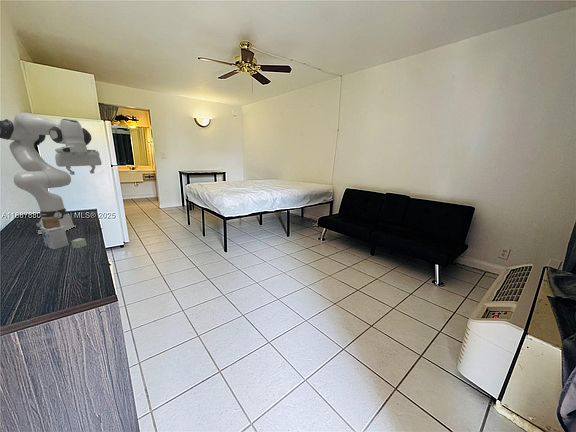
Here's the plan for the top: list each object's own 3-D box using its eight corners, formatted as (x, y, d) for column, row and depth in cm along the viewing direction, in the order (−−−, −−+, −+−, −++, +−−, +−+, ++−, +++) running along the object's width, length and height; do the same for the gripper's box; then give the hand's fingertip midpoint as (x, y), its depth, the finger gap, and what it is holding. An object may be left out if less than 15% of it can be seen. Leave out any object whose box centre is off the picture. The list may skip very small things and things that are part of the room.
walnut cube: (44, 227, 123) (41, 218, 121) (56, 225, 127) (54, 216, 125) (47, 228, 120) (45, 219, 119) (60, 226, 124) (58, 217, 123)
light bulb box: (45, 246, 126) (39, 227, 123) (61, 242, 131) (56, 224, 129) (53, 249, 121) (47, 230, 118) (69, 245, 127) (64, 226, 124)
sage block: (73, 248, 123) (71, 240, 122) (80, 245, 127) (78, 238, 126) (79, 248, 122) (77, 241, 121) (86, 245, 126) (85, 238, 125)
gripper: (95, 149, 143) (100, 172, 146) (51, 149, 125) (57, 175, 129) (100, 149, 140) (105, 172, 143) (56, 149, 122) (62, 175, 126)
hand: (82, 174), depth 136 cm, fingers open, 8 cm apart
